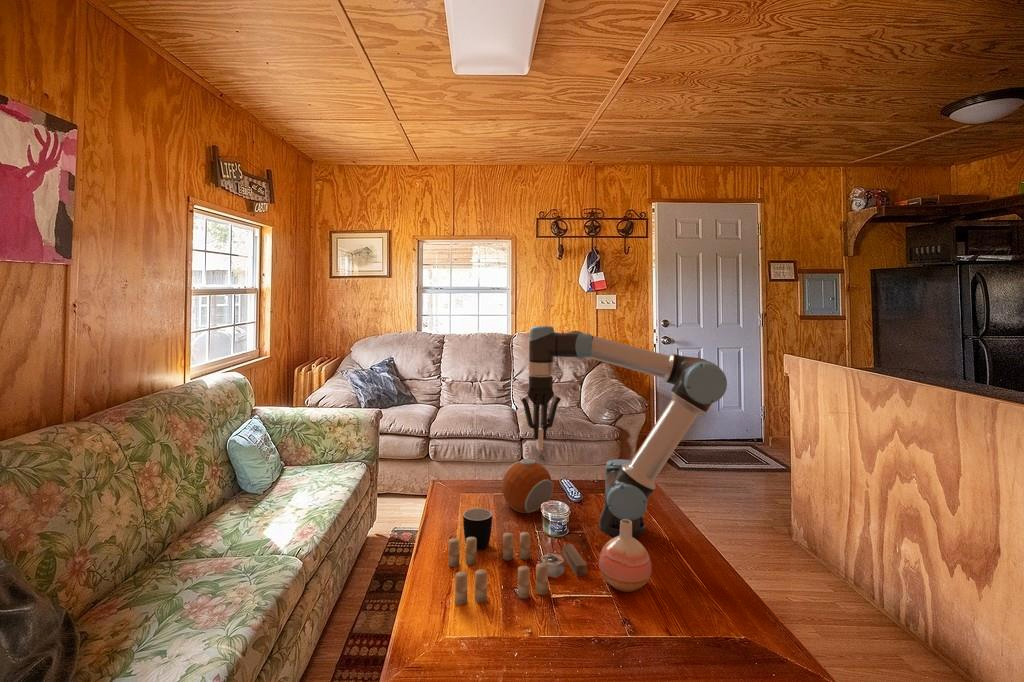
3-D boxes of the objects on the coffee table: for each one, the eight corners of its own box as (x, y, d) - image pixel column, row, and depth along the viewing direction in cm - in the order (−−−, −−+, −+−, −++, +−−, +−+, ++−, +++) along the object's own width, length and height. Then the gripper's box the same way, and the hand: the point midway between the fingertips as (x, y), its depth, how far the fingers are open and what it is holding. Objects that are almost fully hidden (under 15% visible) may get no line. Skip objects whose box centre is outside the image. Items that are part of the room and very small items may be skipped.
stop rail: (571, 553, 145) (572, 544, 145) (586, 575, 133) (586, 564, 133) (562, 554, 144) (562, 545, 144) (576, 576, 132) (576, 566, 132)
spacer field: (527, 553, 145) (528, 530, 144) (549, 595, 123) (549, 569, 123) (448, 561, 139) (448, 538, 139) (456, 607, 118) (456, 579, 118)
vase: (652, 576, 133) (654, 515, 132) (649, 605, 120) (651, 537, 119) (602, 567, 137) (604, 507, 136) (594, 594, 124) (596, 528, 123)
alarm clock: (528, 492, 193) (529, 450, 192) (561, 506, 180) (562, 461, 179) (492, 505, 180) (492, 460, 179) (524, 521, 167) (525, 472, 166)
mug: (496, 549, 147) (496, 517, 146) (468, 555, 143) (468, 522, 142) (482, 532, 158) (482, 502, 157) (456, 537, 154) (456, 506, 153)
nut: (558, 563, 139) (558, 551, 139) (566, 576, 132) (566, 564, 132) (538, 565, 138) (538, 553, 137) (545, 579, 131) (545, 566, 131)
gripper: (556, 373, 155) (555, 444, 157) (517, 374, 152) (516, 446, 154) (564, 376, 148) (562, 451, 150) (523, 377, 145) (522, 453, 147)
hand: (539, 449), depth 152 cm, fingers closed
